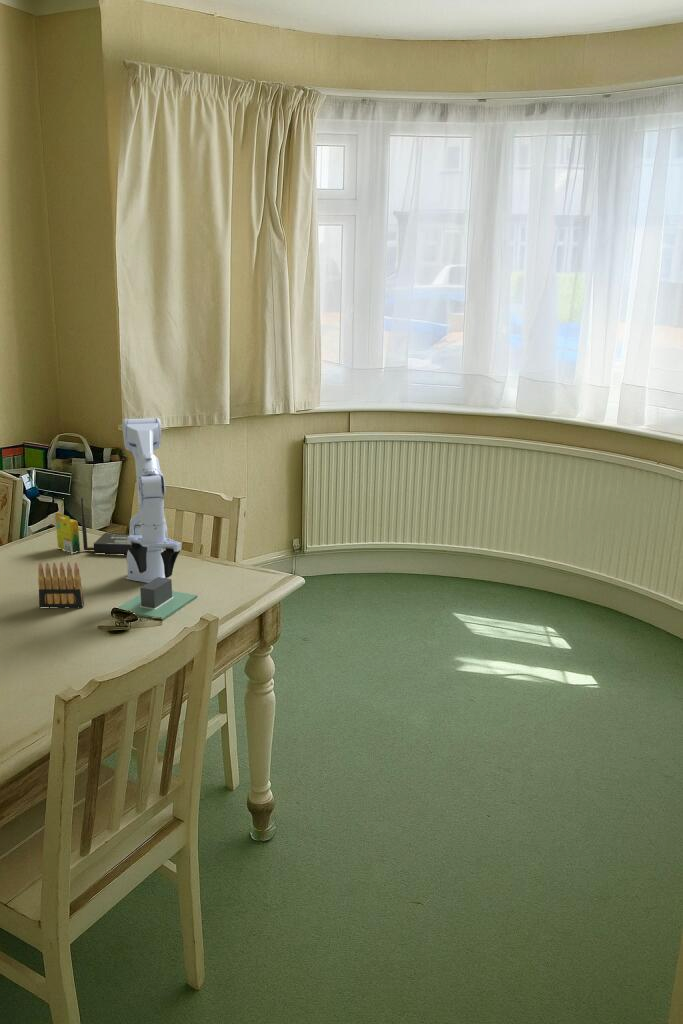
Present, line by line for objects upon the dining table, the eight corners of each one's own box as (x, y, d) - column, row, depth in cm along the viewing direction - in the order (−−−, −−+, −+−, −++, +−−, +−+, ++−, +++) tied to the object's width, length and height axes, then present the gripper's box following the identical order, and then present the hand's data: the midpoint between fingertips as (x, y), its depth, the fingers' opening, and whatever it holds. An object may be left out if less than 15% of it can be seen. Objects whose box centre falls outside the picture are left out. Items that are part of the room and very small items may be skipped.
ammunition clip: (39, 608, 214) (35, 563, 210) (41, 605, 215) (37, 561, 212) (82, 608, 214) (78, 563, 211) (84, 605, 216) (80, 560, 213)
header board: (115, 611, 213) (114, 599, 212) (151, 589, 227) (151, 578, 226) (163, 620, 208) (162, 608, 207) (197, 597, 222) (197, 586, 221)
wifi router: (158, 544, 263) (155, 491, 258) (145, 559, 250) (142, 503, 245) (94, 542, 264) (91, 489, 259) (79, 557, 251) (74, 501, 246)
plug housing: (141, 606, 214) (140, 587, 213) (159, 594, 221) (158, 577, 220) (154, 608, 213) (153, 590, 211) (172, 597, 220) (171, 579, 218)
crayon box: (80, 552, 254) (77, 514, 251) (72, 554, 252) (69, 517, 248) (66, 546, 258) (63, 510, 255) (57, 549, 256) (54, 512, 253)
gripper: (118, 523, 210) (122, 575, 214) (169, 531, 205) (171, 583, 209) (135, 515, 216) (138, 566, 220) (184, 522, 211) (186, 574, 215)
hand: (155, 574), depth 215 cm, fingers open, 7 cm apart
